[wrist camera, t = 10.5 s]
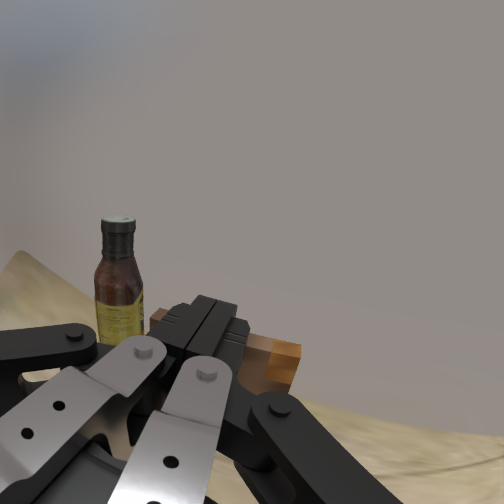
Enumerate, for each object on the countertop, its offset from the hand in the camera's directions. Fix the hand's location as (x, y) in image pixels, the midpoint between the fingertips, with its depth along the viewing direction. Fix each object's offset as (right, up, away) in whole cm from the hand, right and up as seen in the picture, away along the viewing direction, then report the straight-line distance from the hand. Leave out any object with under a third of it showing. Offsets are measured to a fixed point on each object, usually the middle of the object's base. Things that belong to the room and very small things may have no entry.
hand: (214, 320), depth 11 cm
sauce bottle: (-16, -13, +24) cm, 31 cm away
